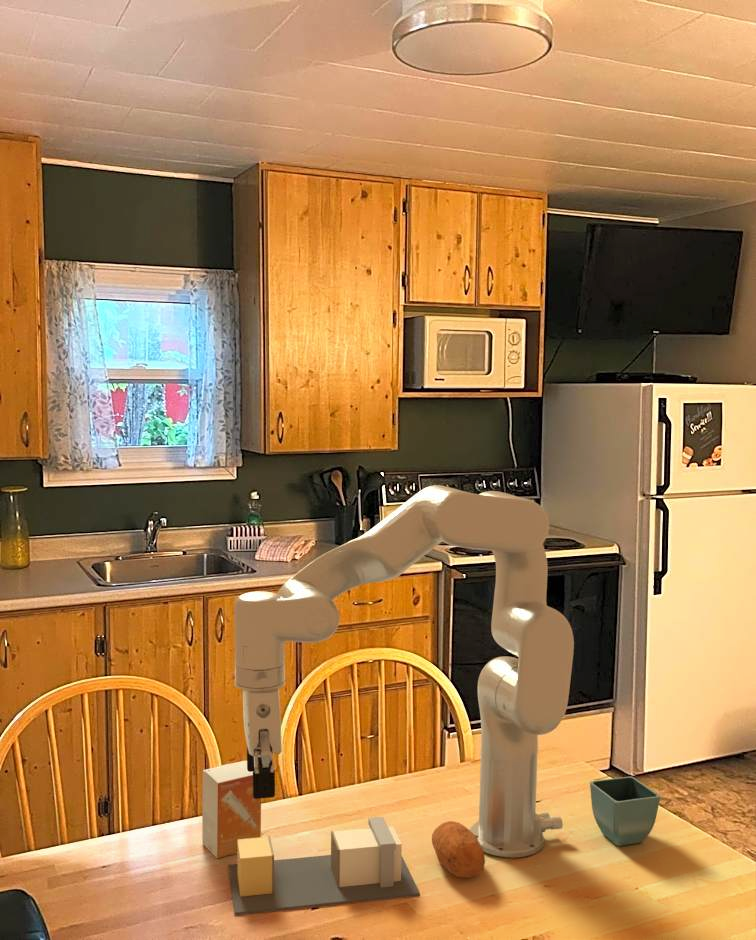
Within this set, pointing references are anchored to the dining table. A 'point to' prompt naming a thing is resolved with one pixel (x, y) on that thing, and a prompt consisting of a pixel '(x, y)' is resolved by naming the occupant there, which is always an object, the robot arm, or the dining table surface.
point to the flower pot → (624, 809)
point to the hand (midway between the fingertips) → (260, 783)
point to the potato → (458, 849)
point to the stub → (255, 866)
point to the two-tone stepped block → (366, 855)
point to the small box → (229, 808)
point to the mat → (314, 887)
